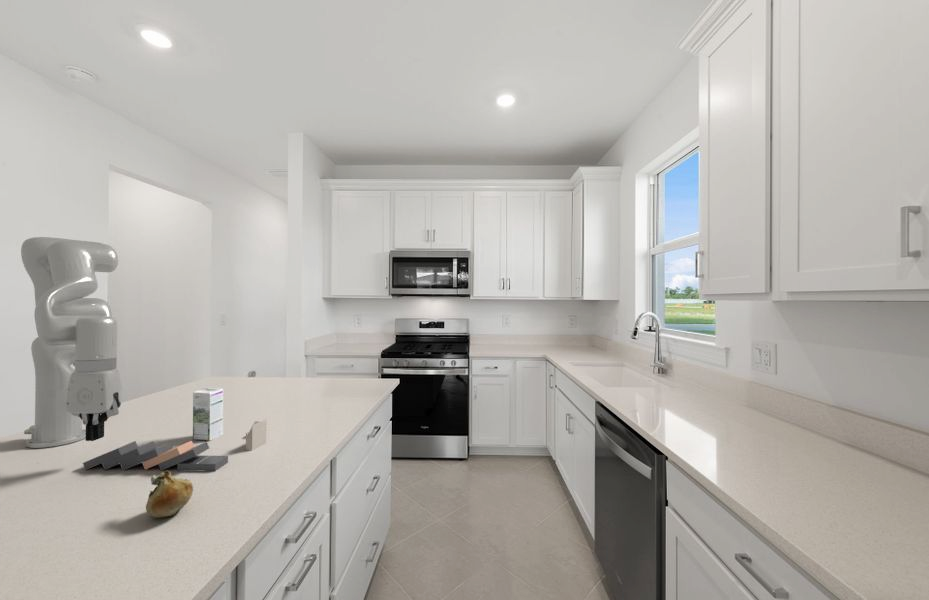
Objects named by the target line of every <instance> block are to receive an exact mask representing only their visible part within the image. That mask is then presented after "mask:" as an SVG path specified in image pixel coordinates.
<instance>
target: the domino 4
mask: <svg viewBox="0 0 929 600" xmlns="http://www.w3.org/2000/svg"><path fill="white" fill-rule="evenodd" d="M193 447H195V445H194V443H193V440H190V441H187V442H185V443H183V444H180V445H179V446H175V447H173V449H171V450H169V451H167V452H165V453H163V454H161V455H159V456H157V457H155V458H152V459H150V460H147V461H145V462H142V465H143V468H144V470H148V469H150V468H152V467H154V466H157V465H158V464H159V463H162V462H164V461H166V460H169V459H171V458H173V457H176V456H178V455H180V454H182V453H184V452H186V451H188V450H190V449H191V448H193Z"/></svg>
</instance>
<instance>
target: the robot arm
mask: <svg viewBox="0 0 929 600" xmlns="http://www.w3.org/2000/svg"><path fill="white" fill-rule="evenodd" d="M20 256H21V261H22V264H23V267H24V269H25V271H26V273H27V275H28V277H29V278H30V280H31V282H32V284H33V288H34V300H35V301H34V302H35V307H34V315H33V316H34V321H35V328H36V329H35V330H36V333H37V337H35V339H34V340H33V341H32V343H31V346H30V350H31V356H32V360H33V366H34V374H35V378H34V379H35V380H34V381H35V382H34V383H35V384H34V385H35V387H34V388H35V391H34V392H35V393H34V395H35V396H34V399H35V400H34V402H35V403H34V408H35V409H34V425H31V426H29V428H28V429H25V430H24V431H23V433H24V435H31V436H30V437H31V438H29V439H28V440H26V442H25V446H26V447H27V448H29V449H43V448H52V447H58V446H59V447H60V446H64V445H68V444H72V443H75V442H78V441H81V440H85V441H86V442H94V441H97V440H99V439H100V440H101V439H103V438H104V436H105V422H107V421H108V420H109V418H111V417H114V416H117V415H119V413H120V411H119V408H120V407H121V405H122V396H123V395H122V383H121V382H122V381H121V377H120V373H119V370H117V364H118V363H117V360H118V359H117V355H118V353H117V352H118V322H117V319H116V318H115V317H113V315H112V310H111V307H110V305H109V303H108V301H106V300H105V299H102V298H98V297H88V296H90V295H93V294H94V293H96V291H97V290H98V287H99V284H98V280H97V276H96V273H112V272H114V271H115V270H116V269H117V267H118V265H119V258H118V257H119V256H118V254H117V251H116V250H115V248H113V247H112V246H111V245H110V244H106V243H102V242H96V241H87V240H79V239H78V240H76V239H70V238H61V237H49V236H37V237H36V236H35V237H30V238H26V239H25V240H24V241H23V242H22V244H21V248H20ZM72 366H73V367H74V368H73V367H72ZM83 425H85V429H83Z"/></svg>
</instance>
